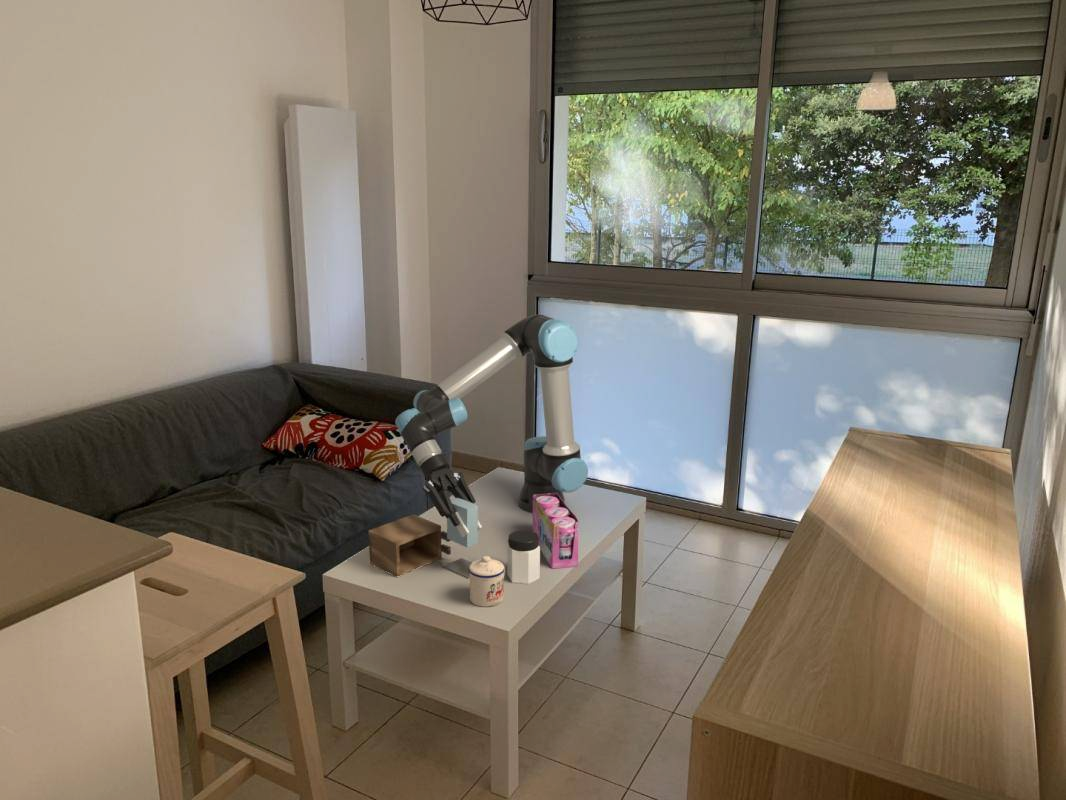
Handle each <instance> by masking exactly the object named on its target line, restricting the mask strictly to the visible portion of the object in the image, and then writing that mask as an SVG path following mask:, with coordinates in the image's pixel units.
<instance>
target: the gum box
mask: <svg viewBox="0 0 1066 800" xmlns="http://www.w3.org/2000/svg"><path fill="white" fill-rule="evenodd" d="M532 532H535V533H537V534H538V536H539V546H540V552H541V553H542V555H543V556H544V558H545V559H546V562H547V563H548V565H549V566H550V568H551V569H553V570H554V569H564V568H571V567H572V568H573V567H579V520H578V518H577V516H576V515H575V513H574V512H573V511H571V508H569V506H568V505H566V502H565V503H564V502H563V500H562V499H561V498H560V496H559V495H558V494H557V493H549V494H537V495H533V512H532Z"/></svg>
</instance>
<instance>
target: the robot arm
mask: <svg viewBox="0 0 1066 800" xmlns="http://www.w3.org/2000/svg"><path fill="white" fill-rule="evenodd" d="M578 347H579V338H578V334H577V332H576V330H575V329H574V327H573V326H572V325H570V324H569V323H568V322H566V321H564V320H562V319H559V318H553V317H549V316H547V315H544V314H532V315H529V316H526V317H524V318H522V319H521V320H519V321H518V322H516V323H514V324H513V325H512V326H510V327H509V328H507V329H505V330H504V331H503V332H502V333H501V336H500V338H499V339H498V340H496V341H494V343H492V344H491V345H490V346H489V347H487V348H486V349H484V350H483V351H481V352H480V353H479V354H477V355H476V356H474V357H473V358H472V359H470V361H468V362H466V364H464V365H462V366H461V367H460V368H459V369H457V370H456V371H455V372H453V373H452V374H450V375H449V376H448V377H446V378H445V379H443V380H442V381H441V382H439V383H438V384H437V385H435V386H434V387H432V388H431V389H429V390H428V389H425V390H420V391H419V392H417V393H416V395H414V398H413V407H414V408H410V409H407V410H404V411H402V412H401V413H400V414H398V416H397V417H396V418H395V426H396V427H397V430H398V431H399V434H400V436H401V438H402V439H403V441H404V443H405V444H406V447H407V448H408V449H409V451H410V453H411V456H412V457H413V459H414V460H415V462H416V464H417V466H419V469H420V471H421V473H422V474H423V476H424V478H425V479H427V482H426V483H425V484H424V485H423V486H422V490H423V491H424V492H425V494H427V495H428V497H429V499H430V501H431V502H432V504H433V505H434V507H435V508H436V511H437V512H438V513H439V515H440V517H441V518H442V517H445V519H447V518H450V520H451V522H452V523H453V525H454V526H455V527H457V529H458V531H459V532H460V534H461V536H462V538H463V537H465V536H466V535H467V534H468V533H469V531H468V529H467V527H466V525H465V524H464V522H463V520H462V518H461V517H460V515H459V513H458V512H455V511H454V508H453V506H452V503H451V500H452V499H451V498H450V495H449V493H450V494H451V495H452V496H453V497H454V499H455V498H460V499H463V500H466V501H468V502H471V503H473V504H476V502H477V500H476V499H475V496H474V495H473V493H472V490H471V489H470V487H469V486H468V484H467V482H466V479H465V477H464V473H463V472H462V471H459V472H458V473H457V472H454V471H453V470H451V468H450V463H449V462H448V460H447V458H446V456H445V454H443V451H442V450H441V448H440V445H439V444H438V443H437V440H436V439H435V436H438V435H440V434H442V433H444V432H446V431H449V430H451V429H453V428H455V427H458V426H459V425H461V424H462V423H464V422H466V421H467V419H468V412H467V409H466V406H465V404H464V402H462V401H463V400H461V399H462V398H463V397H465V396H466V395H467V394H469V393H470V392H472V391H473V390H475V389H476V388H477V387H478V386H480V385H481V384H482V383H483V382H485V381H486V380H488V379H489V378H491V376H493V375H494V374H496V373H497V372H498V371H500V370H502V369H503V368H504V367H505V366H507V365H508V364H509V363H511V362H512V361H513V360H515V359H518V360H519V359H521V358H524V356H526V355H528V354H531V353H533V363H534V367H535V368H537V369H538V370H539V374H540V375H539V376H540V387H541V395H542V404H543V405H542V407H543V415H544V427H545V428H544V429H545V435H544V436H533V437H530V438H528V439H526V441H525V442H524V449H523V452H524V456H523V457H524V458H523V459H524V464H523V466H524V468H523V469H524V470H523V471H524V473H523V477H524V480H523V485H522V488H521V491H520V493H519V497H518V506H519V508H521V510H523V511H526V510H527V511H526V512H529V511H530V513H533V495H537V494H549V493H557V494H558V495H559V496H560V498H561V499H562V500H563V502H564V503H565V504H566V501H565V496H564V493H572V492H575V491H577V490H580V488H582V487H583V484H584V483H586V481H587V479H588V476H589V475H588V474H589V467H588V465H587V463H586V461H584V459H582V457H581V446H580V444H579V443H578V442H577V441H576V440H575V431H574V421H573V420H574V419H573V409H572V406H573V405H572V397H571V395H572V394H571V386H570V385H571V384H570V372H569V368H570V366H572V365H573V363H574V358H573V357H574V356H575V353H576V352H577V350H578ZM454 512H455V513H454ZM482 528H483V526H482V525H481V522H480V521H479V520H478V532H479V531H480V530H481V529H482Z"/></svg>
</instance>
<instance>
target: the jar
mask: <svg viewBox="0 0 1066 800" xmlns="http://www.w3.org/2000/svg"><path fill="white" fill-rule="evenodd" d="M507 540H508V541H507V545H506V546H507V547H506V548H507V549H506V551H507V554H506V556H507V557H506V558H507V561H506V565H507V566H506V570H507V573H506V575H507V577H508V578H509V580H510V581H511V583H512V584H513V583H514V584H522V585H530V584H532V583H534V582H536V581H537V580H540V578H541V577H540V576H541V575H540V574H541V572H540V571H541V567H540V566H541V550H540V546H539V536H538V534H537V533H535V532H533V530H527V529H523V530H515V531H513V532H511V533H510V534H508V539H507Z"/></svg>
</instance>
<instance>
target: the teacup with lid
mask: <svg viewBox="0 0 1066 800" xmlns="http://www.w3.org/2000/svg"><path fill="white" fill-rule="evenodd" d="M469 572H470V578H469V601H471V603H472V604H474V605H476V606H479V607H484V608H488V607H489V606H490V607H493V606H497V605H500V604H501V603H502V602H503V600H504V598H505V597H504V596H505V595H504V590H505V589H504V578H505V573H506V568H505V565H504V564H503V563H502V562H501V561H499V560H497V559H493V558H491V556H488V555H484V556H483V557H482V558H481V559H477V560H474V561H473V562H472V564H471V565H470V566H469Z"/></svg>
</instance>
